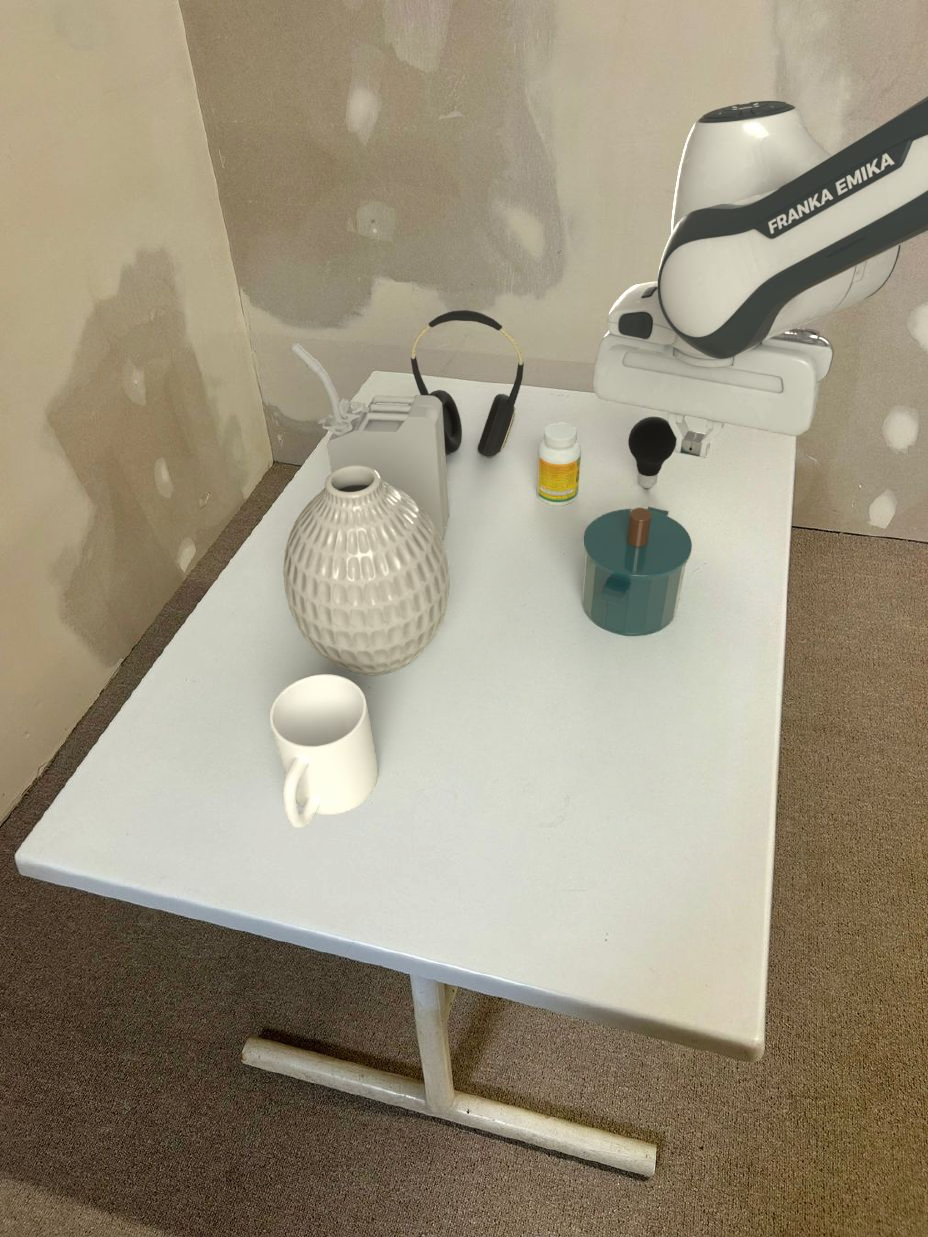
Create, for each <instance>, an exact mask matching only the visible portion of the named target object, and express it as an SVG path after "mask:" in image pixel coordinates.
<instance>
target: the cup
mask: <svg viewBox="0 0 928 1237" xmlns="http://www.w3.org/2000/svg"><path fill="white" fill-rule="evenodd" d="M367 703H368V702H367V698H366V695H365V693H364V692H363V690H362V689H361V688H360V686H358V685H357V684H356V683H355V682H353V680H350V679H349V678H346V677H345V676H341V675H336V674H327V673H325V674H314V675H310V676H306V677H303V678H300V679H298V680H296V681H294V682H293V683H290V684H289V685H288V686H286V687H285V688H284V689H283V690H282V691H281V692H280V693H279V694H278V695H277V696H276V698H275V700H274V701H273V703H272V705H271V707H270V712H269V724H270V727H271V728H270V729H271V731H272V735H273V737H274V741H275V744H276V748H277V751H278V753H279V754H278V755H279V758H280V761H281V763H282V764H281V765H282V767H283V770H284V773H285V777H284V781H283V784H282V785H283V787H282V802H283V810H284V813H285V817H286V820H287V821H288V823H289V824H290V826H291V827H293V828H295V829H302V828H304V827H306V826H307V825H309V823H310V822H311V821H312V820H313V818H314V816H315V815H316V814H319V815H328V816H329V815H339V814H343V813H347V812H349V811H352V810H353V809H355V808H357V807H358V806H360V805H362V804H363V803H364V802H365V801H367V799H368V798H369V797H370V795H371V794H372V792H373V791H374V789H375V787H376V785H377V781H378V775H379V766H378V759H377V753H376V748H375V742H374V737H373V731H372V725H371V720H370V714H369V709H368V704H367ZM298 804H299V805H300V806H302V808H301V809H300V811H299V808H298Z"/></svg>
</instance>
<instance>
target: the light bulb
mask: <svg viewBox="0 0 928 1237" xmlns="http://www.w3.org/2000/svg"><path fill="white" fill-rule="evenodd" d="M676 442H677V438H676V437H675V435H674V433H673V431H672V429H671V427H670V425H669V423H668V420H666V419H665V418H662V417H659V416H648V417H647V416H646V417H644V418H642V419H640V420H639V421H637V422H636V423H635V424H634V425H633V427H632V428H631V430H630V432H629V434H628V442H627V443H628V448H629V452H630V453H631V455H632V456H633V458H634V459H635V462H636V470H637V481H636V482H637V485H639V486H640V487H641V488H643V489H645V490H648V489H651V488H653V487H656V485H657V483H658V475H659V474H660V471H661V469H662V468H663V467H662V466H663V465H664V463H665V462H666V461H667V460H668V459H669V458H670V457H671V456H672V454H674V452H675V450H676Z"/></svg>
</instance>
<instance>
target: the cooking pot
mask: <svg viewBox="0 0 928 1237" xmlns="http://www.w3.org/2000/svg"><path fill="white" fill-rule="evenodd" d="M646 509H648V510H650V511H654V512H658V513H661V514H663V515H666V516H668V517H669V511H668V510H664V509H661V508H657V507H652V506H647V507H646ZM584 556H585V557H584V569H583V581H582V594H581V595H582V602H581V603H582V607H583V610H584V612H585V615H586V616H587V617H588V618H589V620H590V621H591V622H592V623H593V624H595V625H596V626H597V627H599V628H601V629H602V630H604V631H607V632H609V633H611V634H614V635H619V636H626V637H642V636H648V635H652V634H655V633H658V632H660V631H662V630H663V629H665V628H667V627H668V626H669V625H670V624H671V623H672V621H674V618H675V617H676V613H677V611H678V608H679V604H680V598H681V593H682V586H683V582H684V581H683V580H684V577H685V576H684V575H685V570H686V564H687V563H686V564H685V565H684V566H683V567H682V568H681V569H680V570H678V571H676V572H675V573H673V574H671V575H668V576H665V577H662V578H657V579H651V580H633V579H626V578H622V577H618V576H615V575H612V574H610V573H608V572H605V571H604V570H602V569H600V568H599V567H597V566H596V565H595V564H594V563H593V562H592V561H591V560H590V559H589V558H588V556H587V555H586V553H585V555H584Z"/></svg>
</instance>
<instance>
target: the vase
mask: <svg viewBox="0 0 928 1237" xmlns="http://www.w3.org/2000/svg"><path fill="white" fill-rule="evenodd" d="M282 574H283V586H284V594H285V597H286V602H287V605H288V609H289V611H290V613H291V616H292V618H293V620H294V622H295V624H296V627H297V629H298V630H299V631H300V634H302V636H303V637H304V638H305V640H306V641H307V642H308V644H309V645H310V646H311V647H312V648H313V649H314V651H316V652H317V653H318V654H319V655H321V656H322V657H324V658H325V659H327V660H328V661H329V662H331V663H333V664H334V665H336V666H338V667H340V668H342V669H344V670H346V671H349V672H351V673H354V674H357V675H358V674H359V675H367V676H378V675H380V676H381V675H386V674H389V673H392V672H396V671H398V670H400V669H402V668H405V667H406V666H408V665H409V664H410V663H412V662H413V661H414V660H415V659H416V658H417V657H419V656H420V655H421V654H423V652H424V651H425V650H426V648H428V646H429V645H430V644H431V642H432V641H433V639H434V638H435V636H436V635H437V633H438V631H439V630H440V627H441V625H442V623H443V619H444V618H445V614H446V611H447V609H448V602H449V596H450V587H451V581H450V568H449V561H448V555H447V551H446V547H445V545H444V542H443V540H442V539H441V537H440V535H439V532H438V530H437V528H436V527H435V525H434V524H433V522H432V521H431V519H430V518H429V516H428V514H427V513H426V512H425V511H424V510H423V509H422V507H421V506H420V505H419V504H418V503H417V502H416V501H415V500H413V499H412V498H411V497H410V496H408V495H407V494H406V493H404V492H403V491H401V490H399V489H397V488H396V487H394V486H392V485H390V484H388V483H386V482H384V481H382V480H381V478H380V475H379V473H378V472H377V471H376V470H374V469H372V468H370V467H367V466H363V465H350V466H345V467H342V468H339V469H337V470H335V471H334V472H332V471H331V473H330V474H329V475H328V476H327V477H326V479H325V482H324V488H323V489H322V490H321V491H319V492H318V494H316V495H314V497H313V498H312V499H311V500H310V501H309V502H308V503H307V504H306V506H305V507H303V509H302V511H301V512H300V513H299V515H298V517H297V518H296V519H295V522H294V523H293V526H292V528H291V530H290V533H289V535H288V539H287V542H286V545H285V550H284V558H283V566H282Z"/></svg>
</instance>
